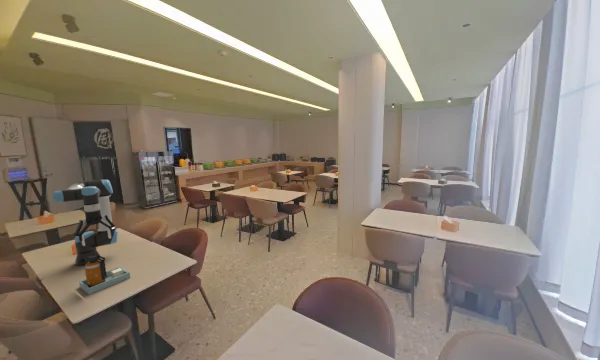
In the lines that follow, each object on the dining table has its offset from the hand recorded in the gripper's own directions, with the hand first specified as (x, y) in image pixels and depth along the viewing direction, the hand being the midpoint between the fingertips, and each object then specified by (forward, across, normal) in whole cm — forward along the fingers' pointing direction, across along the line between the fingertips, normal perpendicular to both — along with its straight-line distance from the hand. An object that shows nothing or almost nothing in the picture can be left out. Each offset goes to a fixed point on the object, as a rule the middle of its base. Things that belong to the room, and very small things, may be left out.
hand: (97, 241), depth 153 cm
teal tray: (+28, 0, -5) cm, 29 cm away
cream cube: (+27, +6, -5) cm, 29 cm away
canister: (+28, -4, -5) cm, 28 cm away
